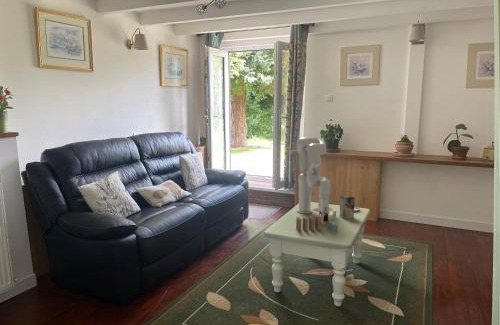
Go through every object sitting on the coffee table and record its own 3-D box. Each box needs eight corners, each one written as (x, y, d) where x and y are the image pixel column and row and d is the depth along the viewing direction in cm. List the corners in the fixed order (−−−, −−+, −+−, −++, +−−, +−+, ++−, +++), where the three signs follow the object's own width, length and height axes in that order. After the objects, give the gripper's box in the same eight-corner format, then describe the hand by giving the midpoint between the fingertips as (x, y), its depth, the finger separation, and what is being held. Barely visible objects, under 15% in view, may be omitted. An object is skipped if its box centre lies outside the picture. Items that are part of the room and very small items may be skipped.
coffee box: (350, 215, 280) (351, 195, 277) (353, 218, 274) (355, 197, 271) (339, 216, 278) (340, 196, 275) (342, 218, 272) (343, 198, 269)
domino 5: (320, 222, 263) (321, 210, 262) (323, 222, 264) (323, 210, 262) (323, 224, 258) (323, 212, 256) (325, 224, 258) (326, 212, 257)
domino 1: (296, 229, 248) (296, 216, 247) (298, 229, 249) (299, 216, 247) (298, 232, 243) (298, 219, 242) (301, 231, 243) (301, 219, 242)
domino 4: (314, 228, 250) (315, 216, 249) (317, 228, 251) (318, 215, 249) (317, 231, 245) (317, 218, 243) (320, 231, 245) (320, 218, 244)
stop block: (329, 227, 253) (329, 221, 252) (333, 226, 254) (333, 221, 253) (333, 231, 245) (333, 225, 245) (337, 230, 246) (337, 225, 245)
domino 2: (302, 229, 249) (302, 216, 248) (305, 228, 249) (305, 216, 248) (304, 231, 244) (305, 219, 242) (307, 231, 244) (307, 218, 242)
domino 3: (308, 228, 250) (309, 216, 248) (311, 228, 250) (311, 216, 248) (311, 231, 244) (311, 218, 243) (313, 231, 245) (314, 218, 243)
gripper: (315, 193, 265) (314, 215, 268) (323, 199, 248) (322, 223, 251) (325, 193, 266) (324, 215, 269) (333, 199, 249) (332, 222, 252)
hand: (323, 219), depth 260 cm, fingers open, 8 cm apart
